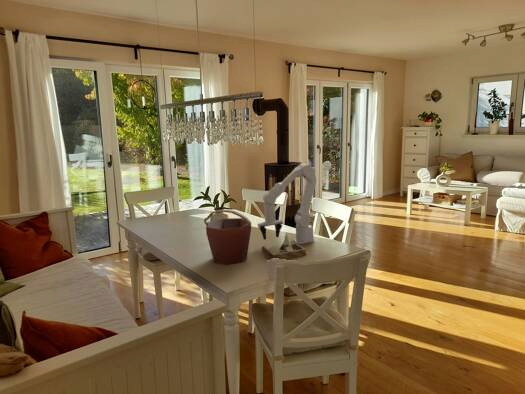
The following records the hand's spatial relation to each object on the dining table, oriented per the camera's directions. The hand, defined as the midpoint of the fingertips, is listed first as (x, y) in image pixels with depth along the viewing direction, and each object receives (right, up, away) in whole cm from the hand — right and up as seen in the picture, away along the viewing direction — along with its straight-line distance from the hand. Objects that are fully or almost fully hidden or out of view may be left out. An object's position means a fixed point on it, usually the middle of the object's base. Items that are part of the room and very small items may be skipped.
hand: (271, 238), depth 208 cm
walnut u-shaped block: (+6, -6, -13) cm, 16 cm away
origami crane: (+9, -7, -13) cm, 17 cm away
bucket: (-21, -9, -18) cm, 29 cm away
